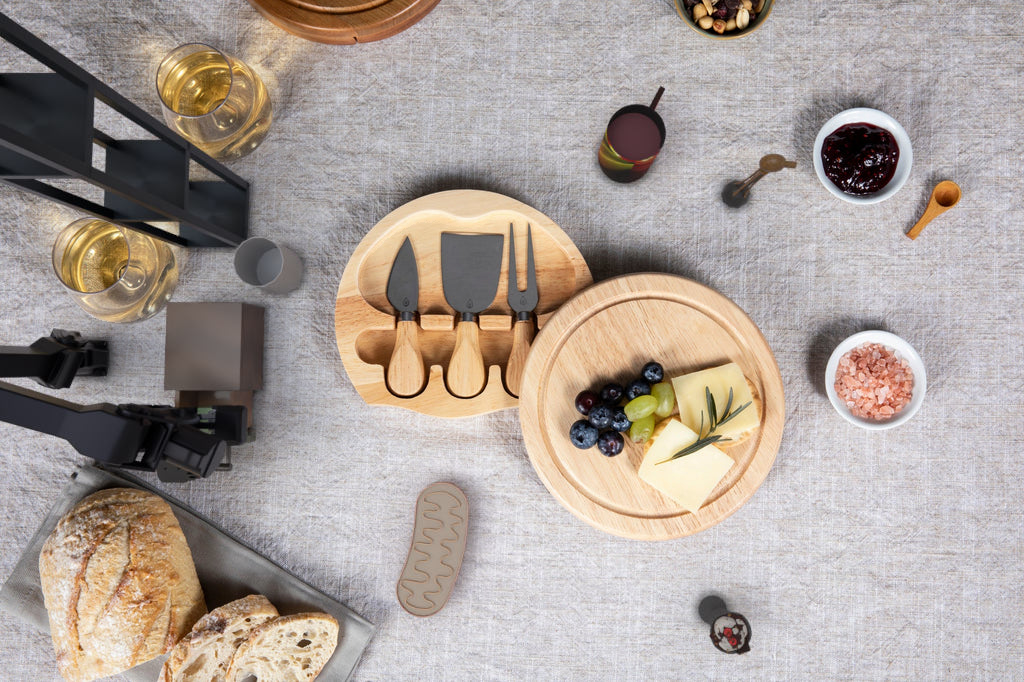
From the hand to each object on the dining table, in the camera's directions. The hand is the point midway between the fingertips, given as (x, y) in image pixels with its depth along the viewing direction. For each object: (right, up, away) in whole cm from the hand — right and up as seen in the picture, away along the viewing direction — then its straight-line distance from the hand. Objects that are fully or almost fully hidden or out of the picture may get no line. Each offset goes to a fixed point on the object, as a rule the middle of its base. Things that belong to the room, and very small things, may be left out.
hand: (210, 420), depth 112 cm
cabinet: (0, +12, +7) cm, 14 cm away
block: (0, 0, +4) cm, 4 cm away
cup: (+9, +26, +8) cm, 29 cm away
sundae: (+86, -33, +4) cm, 92 cm away
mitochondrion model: (+38, -22, +5) cm, 44 cm away
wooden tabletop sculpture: (+91, +40, +7) cm, 100 cm away
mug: (+71, +49, +8) cm, 87 cm away
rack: (-3, +36, +8) cm, 37 cm away
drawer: (0, 0, +5) cm, 5 cm away
